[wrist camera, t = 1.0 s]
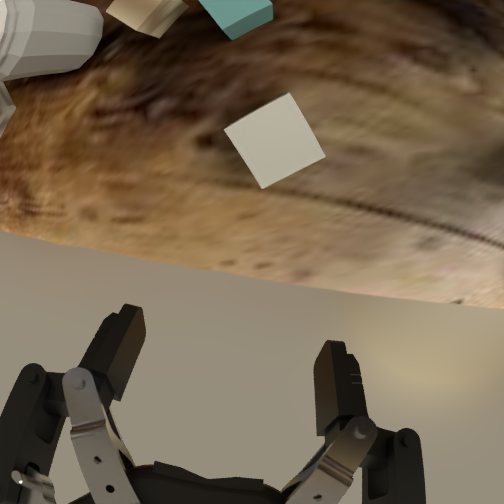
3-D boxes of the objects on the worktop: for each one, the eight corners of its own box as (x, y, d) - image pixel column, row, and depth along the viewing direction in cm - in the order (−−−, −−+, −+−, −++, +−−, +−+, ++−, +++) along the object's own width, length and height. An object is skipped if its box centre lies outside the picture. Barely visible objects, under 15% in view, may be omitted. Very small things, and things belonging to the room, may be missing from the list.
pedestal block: (287, 92, 26) (289, 92, 22) (318, 146, 29) (325, 156, 25) (231, 123, 29) (223, 129, 24) (264, 174, 32) (262, 189, 27)
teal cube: (248, -12, 19) (241, -32, 14) (273, 19, 22) (272, 3, 17) (208, 9, 21) (193, -6, 16) (232, 40, 23) (222, 29, 18)
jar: (83, -5, 18) (-19, -21, 3) (122, 25, 22) (10, 7, 7) (43, 51, 22) (-59, 67, 7) (76, 85, 26) (-36, 112, 11)
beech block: (159, -11, 19) (137, -26, 14) (189, 6, 21) (171, -8, 16) (131, 19, 21) (105, 11, 16) (159, 38, 23) (136, 30, 18)
